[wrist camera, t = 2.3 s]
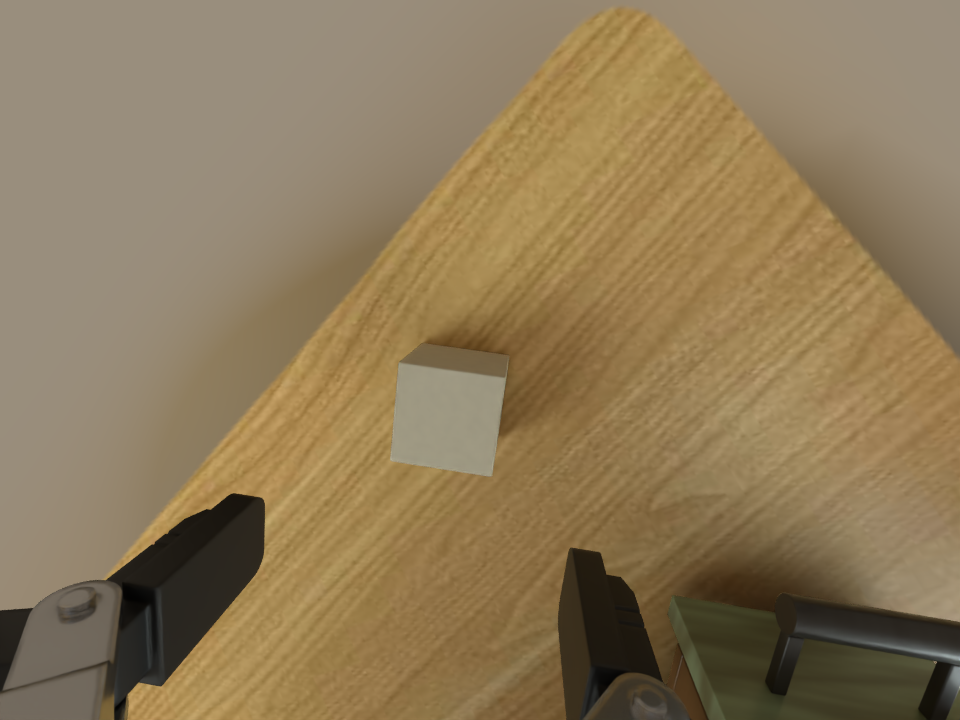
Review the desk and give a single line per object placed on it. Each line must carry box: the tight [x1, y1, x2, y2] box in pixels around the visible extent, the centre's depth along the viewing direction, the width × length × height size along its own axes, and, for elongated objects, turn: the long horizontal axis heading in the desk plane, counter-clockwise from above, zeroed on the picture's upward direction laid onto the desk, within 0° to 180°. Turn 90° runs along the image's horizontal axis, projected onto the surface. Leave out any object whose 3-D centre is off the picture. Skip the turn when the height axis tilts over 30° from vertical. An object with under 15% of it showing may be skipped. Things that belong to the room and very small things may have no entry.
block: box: [390, 343, 509, 477], centre depth 22 cm, size 4×4×4 cm
